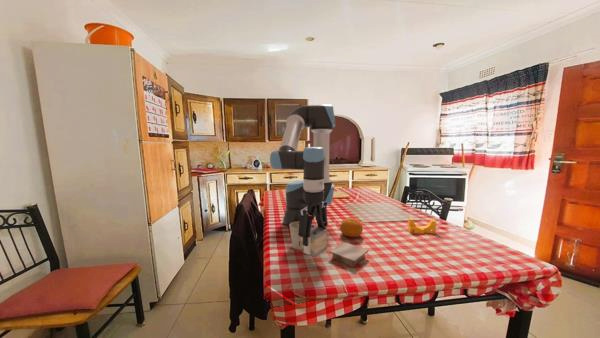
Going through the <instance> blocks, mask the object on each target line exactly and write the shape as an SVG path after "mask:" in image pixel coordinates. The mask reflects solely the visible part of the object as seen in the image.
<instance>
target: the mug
mask: <svg viewBox="0 0 600 338" xmlns="http://www.w3.org/2000/svg"><path fill="white" fill-rule="evenodd" d="M288 227H289V232H290V239H291V240H290V241H291V246H292V248H293V249H294V250H300V251H301V237H300V236H299V235H298V234H299V221H296V222H292V223H290V225H289V226H288Z"/></svg>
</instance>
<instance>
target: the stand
mask: <svg viewBox="0 0 600 338" xmlns="http://www.w3.org/2000/svg"><path fill="white" fill-rule="evenodd" d="M368 252H369V249H366V248H364V247H362V246H361V247H360V246H357V245H354V244H351V243H349V242H345V241H343V242H341V243H339V244H337V246H335V247H334V248H332V249H330V250H329V251H328V253H329V254H332V259H333V260H335V261H338V262H341V263H344V264H346V265H349V266H350V267H355V266H356V265H358V264H359V262H361V261H362V260H363V259H365V256H366V254H367V253H368Z"/></svg>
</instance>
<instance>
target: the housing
mask: <svg viewBox="0 0 600 338" xmlns="http://www.w3.org/2000/svg"><path fill="white" fill-rule="evenodd" d="M309 237H311V254H310V255H309V256H312V257H315V258H316V257H318V256H319V255H321V254H323V253H325V252H326V251H327V249H328V247H327V246H328V229H327V228H326V229H323V228H320V227H318V225H314V224H312V225H311V230H310V234H309ZM300 251H301V252H303V253H304V245H303V237H301V250H300Z"/></svg>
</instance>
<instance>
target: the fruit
mask: <svg viewBox="0 0 600 338" xmlns="http://www.w3.org/2000/svg"><path fill="white" fill-rule="evenodd" d="M339 226H340V227H339V229H340V232H341V233H342V234H343V235H344V236H346V237H349V238H357V237H359V236H361V235H362V233H363V229H364V228H363V224H362V223H361V221H360V220H358V219H356V218H351V217H349V218H345V219H344V220H343V221H342V222H341V223H340V225H339Z"/></svg>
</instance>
